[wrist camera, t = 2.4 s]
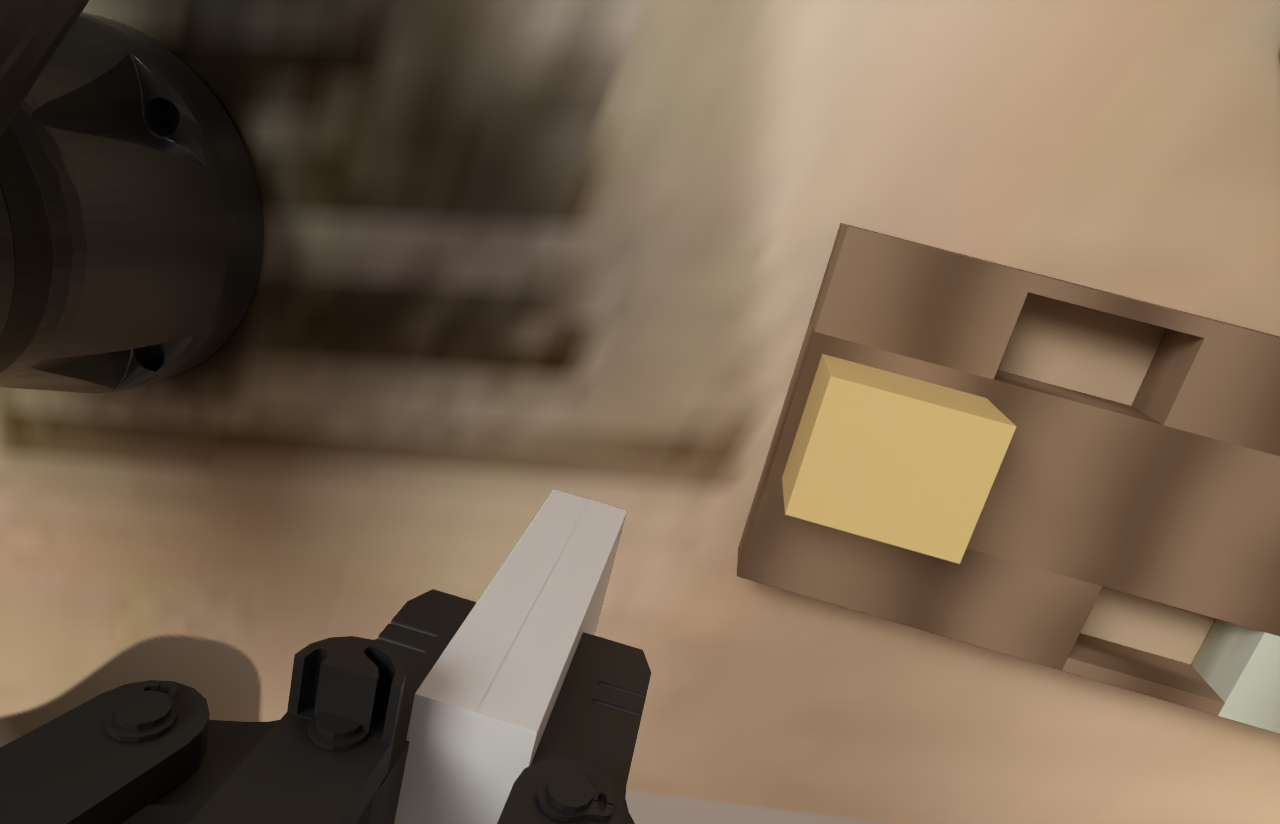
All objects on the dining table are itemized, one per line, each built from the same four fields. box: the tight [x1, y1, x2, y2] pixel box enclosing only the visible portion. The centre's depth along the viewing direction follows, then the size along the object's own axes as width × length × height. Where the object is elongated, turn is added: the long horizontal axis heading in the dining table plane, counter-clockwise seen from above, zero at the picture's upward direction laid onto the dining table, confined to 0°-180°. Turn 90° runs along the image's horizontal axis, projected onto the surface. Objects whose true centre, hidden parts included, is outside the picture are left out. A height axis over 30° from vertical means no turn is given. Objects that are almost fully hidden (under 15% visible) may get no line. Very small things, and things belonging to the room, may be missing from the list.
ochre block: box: [782, 354, 1016, 564], centre depth 28 cm, size 6×5×4 cm
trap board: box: [737, 223, 1280, 734], centre depth 28 cm, size 25×14×6 cm, turn 76°
